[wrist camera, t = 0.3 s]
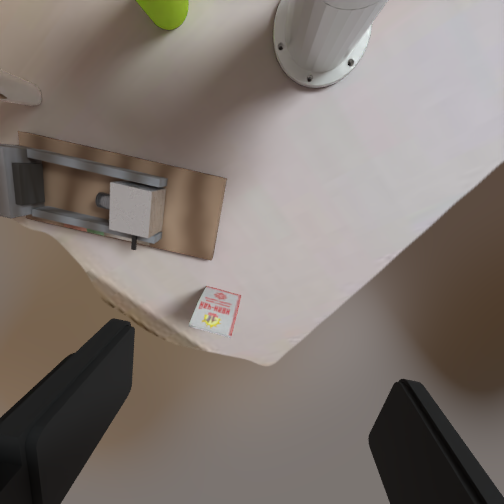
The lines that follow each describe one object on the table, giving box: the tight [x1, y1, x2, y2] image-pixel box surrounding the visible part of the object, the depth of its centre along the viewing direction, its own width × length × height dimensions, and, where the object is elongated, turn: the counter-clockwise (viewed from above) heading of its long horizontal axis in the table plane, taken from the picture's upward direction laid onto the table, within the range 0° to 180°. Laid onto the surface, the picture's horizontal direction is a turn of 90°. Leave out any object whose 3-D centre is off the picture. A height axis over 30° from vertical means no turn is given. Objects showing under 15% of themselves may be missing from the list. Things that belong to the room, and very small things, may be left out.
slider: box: [95, 180, 166, 250], centre depth 39 cm, size 9×10×5 cm
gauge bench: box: [0, 131, 227, 260], centre depth 39 cm, size 33×14×8 cm, turn 78°
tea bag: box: [189, 286, 241, 338], centre depth 43 cm, size 4×7×10 cm, turn 74°
